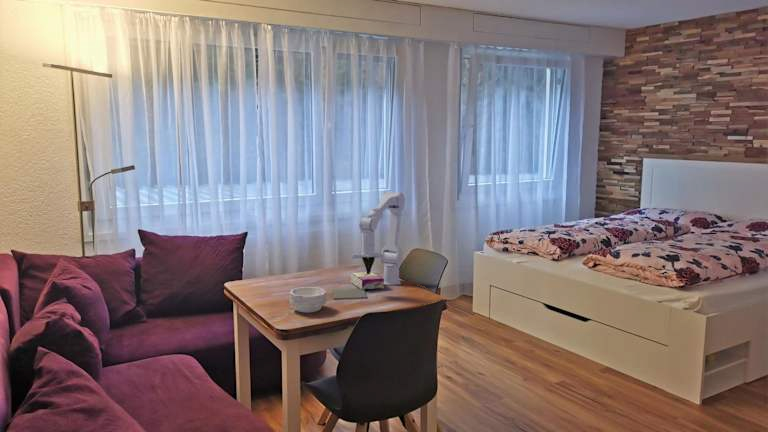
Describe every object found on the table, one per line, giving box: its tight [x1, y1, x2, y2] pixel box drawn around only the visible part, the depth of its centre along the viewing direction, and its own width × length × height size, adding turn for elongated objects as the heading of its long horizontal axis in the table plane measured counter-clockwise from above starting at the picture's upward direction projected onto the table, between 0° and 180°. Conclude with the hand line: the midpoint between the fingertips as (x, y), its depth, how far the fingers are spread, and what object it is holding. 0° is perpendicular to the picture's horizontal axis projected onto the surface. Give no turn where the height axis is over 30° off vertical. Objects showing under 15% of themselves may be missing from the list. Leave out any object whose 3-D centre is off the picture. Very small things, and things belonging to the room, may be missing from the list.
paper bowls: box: [289, 286, 328, 314], centre depth 246 cm, size 15×15×8 cm
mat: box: [332, 288, 368, 300], centre depth 269 cm, size 14×14×1 cm
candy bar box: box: [350, 271, 385, 291], centre depth 283 cm, size 11×5×16 cm
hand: (368, 273), depth 268 cm, fingers closed
